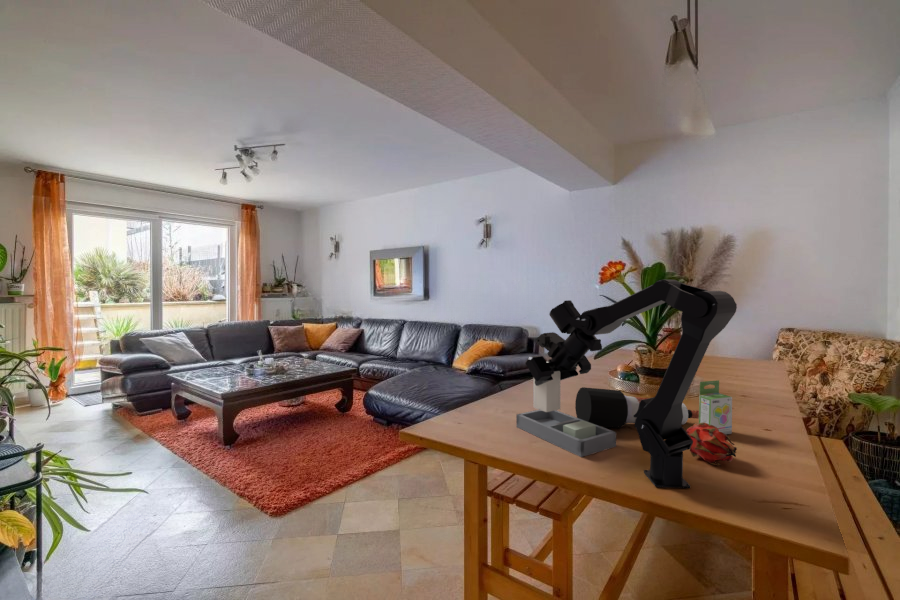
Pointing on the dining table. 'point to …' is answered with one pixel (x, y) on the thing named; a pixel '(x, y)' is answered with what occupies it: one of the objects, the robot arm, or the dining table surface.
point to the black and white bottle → (613, 407)
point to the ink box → (715, 407)
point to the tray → (567, 431)
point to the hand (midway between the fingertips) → (543, 383)
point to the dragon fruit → (710, 443)
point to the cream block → (547, 394)
